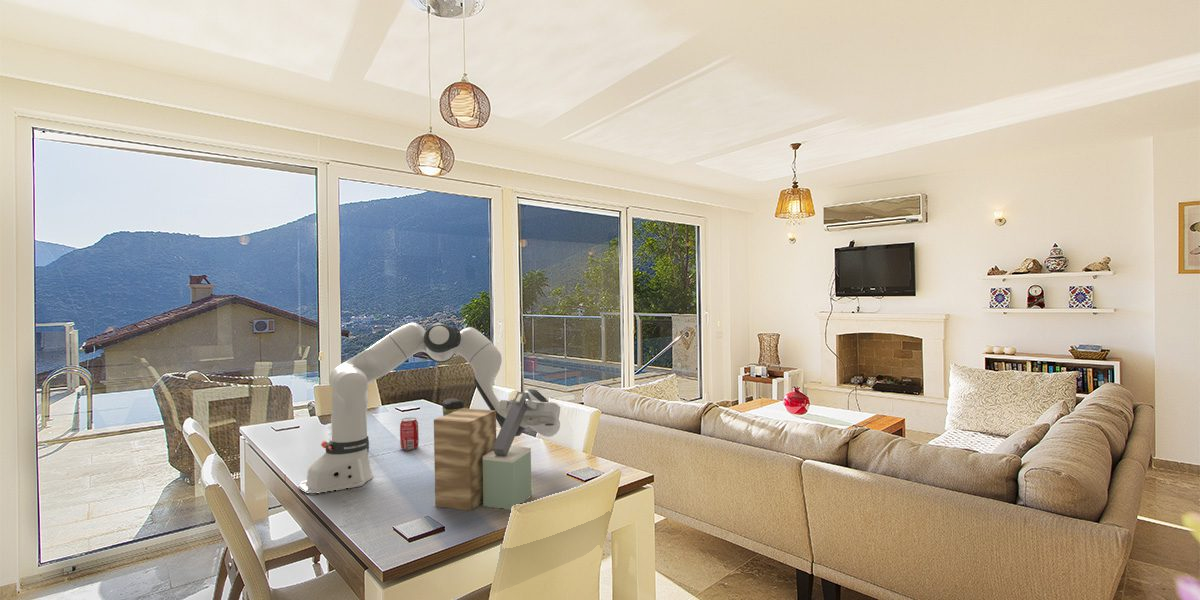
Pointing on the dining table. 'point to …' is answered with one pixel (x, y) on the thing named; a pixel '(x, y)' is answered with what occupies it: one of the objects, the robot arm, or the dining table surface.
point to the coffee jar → (451, 405)
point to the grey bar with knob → (511, 425)
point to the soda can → (409, 433)
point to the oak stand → (462, 456)
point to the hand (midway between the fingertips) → (519, 401)
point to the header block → (507, 478)
